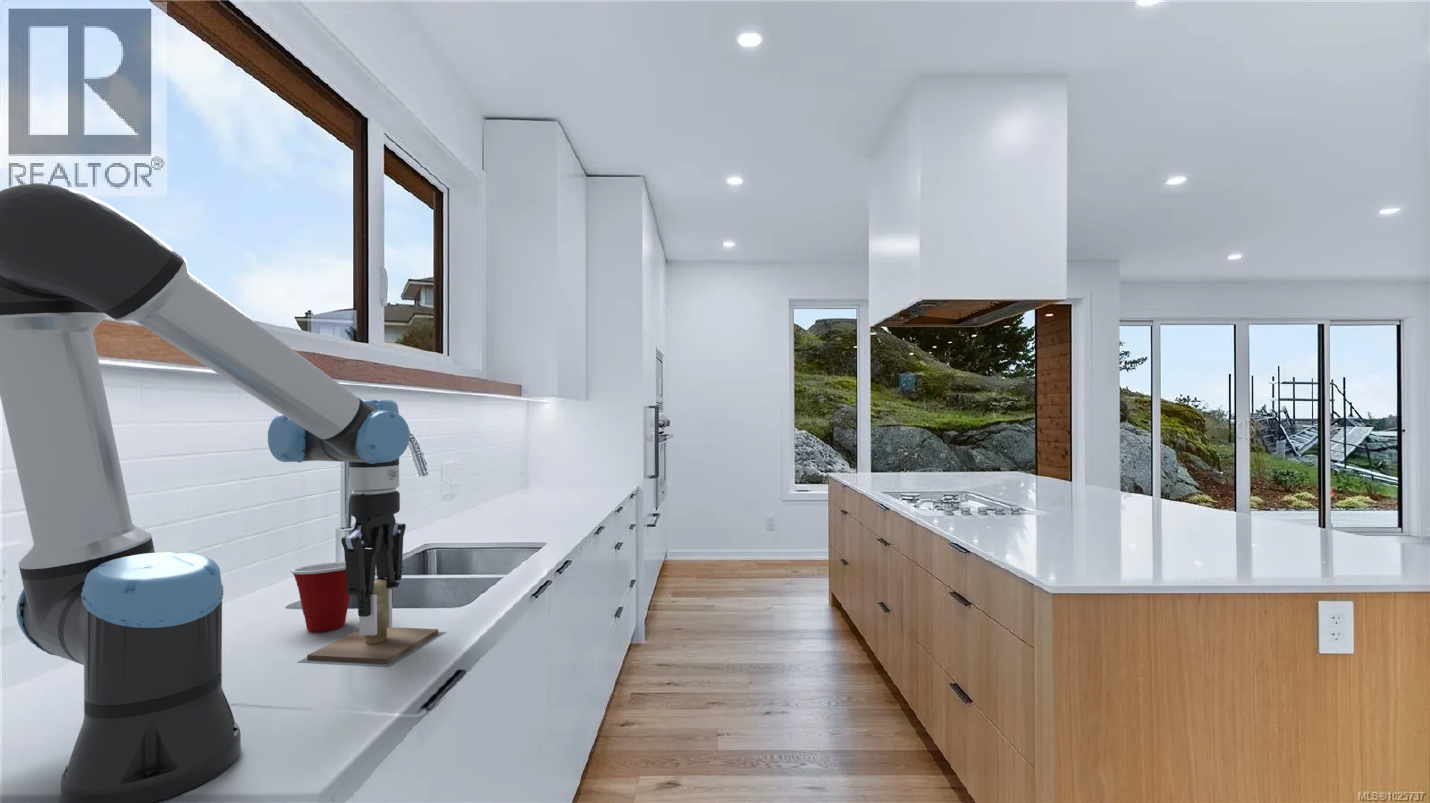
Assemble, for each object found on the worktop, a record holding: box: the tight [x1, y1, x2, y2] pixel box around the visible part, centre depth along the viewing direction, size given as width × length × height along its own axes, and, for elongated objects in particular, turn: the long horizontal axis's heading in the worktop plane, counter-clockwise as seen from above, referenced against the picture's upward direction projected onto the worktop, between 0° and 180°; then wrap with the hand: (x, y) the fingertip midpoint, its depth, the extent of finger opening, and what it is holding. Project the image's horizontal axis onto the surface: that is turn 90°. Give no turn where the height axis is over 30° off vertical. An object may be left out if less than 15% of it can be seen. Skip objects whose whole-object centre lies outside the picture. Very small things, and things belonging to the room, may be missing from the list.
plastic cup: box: [290, 561, 351, 634], centre depth 121 cm, size 11×11×12 cm
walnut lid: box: [306, 579, 439, 664], centre depth 111 cm, size 14×14×11 cm
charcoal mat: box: [296, 631, 447, 668], centre depth 110 cm, size 16×16×1 cm
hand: (376, 630), depth 110 cm, fingers closed on walnut lid, 3 cm apart
